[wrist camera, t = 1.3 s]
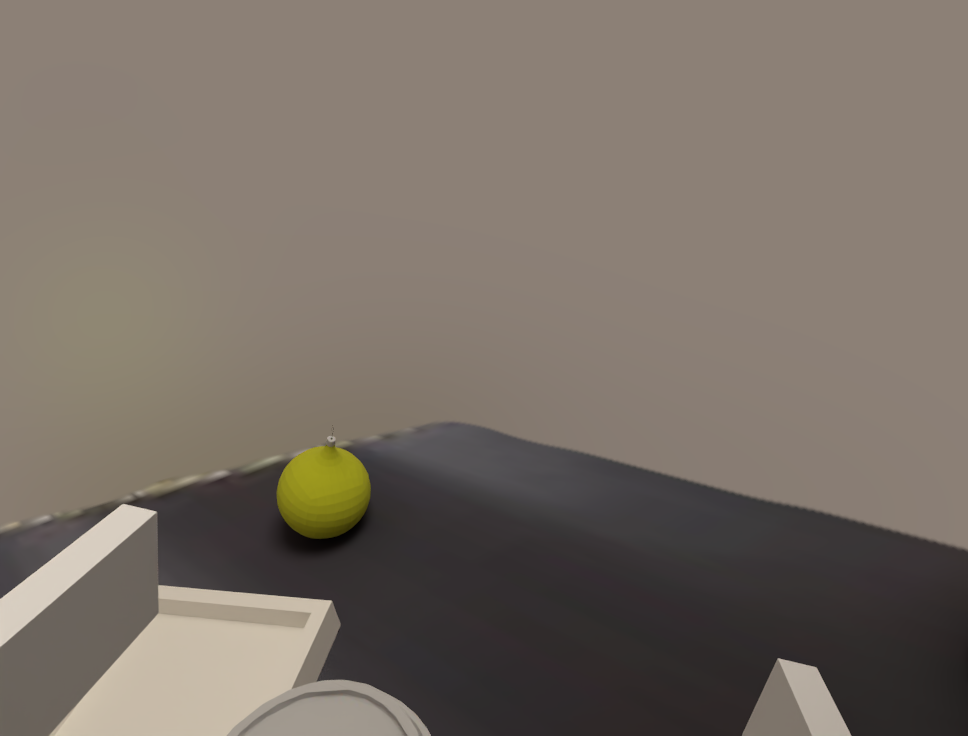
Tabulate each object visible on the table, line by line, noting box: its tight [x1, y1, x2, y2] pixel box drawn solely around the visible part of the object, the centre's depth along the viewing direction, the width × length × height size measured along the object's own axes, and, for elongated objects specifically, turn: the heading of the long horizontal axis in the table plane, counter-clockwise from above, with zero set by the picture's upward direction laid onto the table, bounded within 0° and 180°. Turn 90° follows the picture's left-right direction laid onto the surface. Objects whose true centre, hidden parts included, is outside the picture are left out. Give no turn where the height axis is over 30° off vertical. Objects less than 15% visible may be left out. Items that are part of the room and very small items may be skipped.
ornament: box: [277, 436, 371, 539], centre depth 45 cm, size 7×7×10 cm
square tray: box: [49, 585, 341, 736], centre depth 34 cm, size 15×15×2 cm
